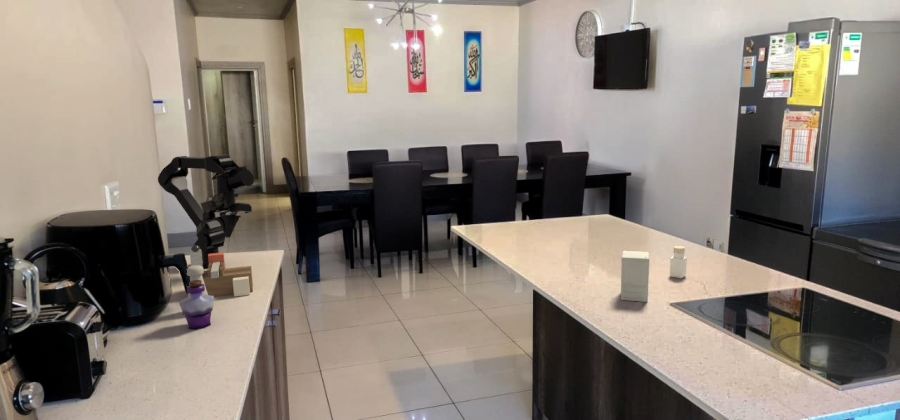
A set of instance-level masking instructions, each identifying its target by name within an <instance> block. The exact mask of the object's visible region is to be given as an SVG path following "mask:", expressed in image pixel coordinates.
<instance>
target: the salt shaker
mask: <svg viewBox="0 0 900 420" xmlns="http://www.w3.org/2000/svg"><path fill="white" fill-rule="evenodd" d="M187 268H188V269H187ZM187 268H186V270H187V273H186V275H187V276H190V281H193V280H201V281H202V283H201V284H204V286H205V283H204V280H203V277H202V274H203V273H204V271H205V270H204V269H205V268H203V267H202V266H201V265H193V266H191V265H190V266H188V267H187ZM202 295H208V293H207V290H206V287H205V291H203V292H202ZM190 296H191V294H190V293H187V298H188V297H190Z"/></svg>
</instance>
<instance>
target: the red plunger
mask: <svg viewBox="0 0 900 420" xmlns="http://www.w3.org/2000/svg"><path fill="white" fill-rule="evenodd" d="M208 260H209V263H212V268H211V278H219V273H220V264H221V262H224V269H226V261H225V253H224V252H219V253H213V254H208Z"/></svg>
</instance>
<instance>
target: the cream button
mask: <svg viewBox="0 0 900 420" xmlns="http://www.w3.org/2000/svg"><path fill="white" fill-rule="evenodd" d="M233 289H234V294H233V297H243V296H250V294H251V292H250V287H249V276H247V277H238V278H233Z"/></svg>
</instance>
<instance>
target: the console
mask: <svg viewBox="0 0 900 420" xmlns="http://www.w3.org/2000/svg"><path fill="white" fill-rule="evenodd" d="M211 268H212V263H209V266H208V268H206V269H207V270H204V273H203V280H204V283H205V287H206V290H207V293H208V295H210V296H214V297H219V296H229V295H234V289H233V278H238V277H247V276H249V287H250V293H253V292H254V291H253V290H254V283H253V282H254V281H253V272H252V265H246V266H238V267H237V266H236V267H227V268H226V267H225V269H224V262H221V264H220V273H219V278H211Z"/></svg>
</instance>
